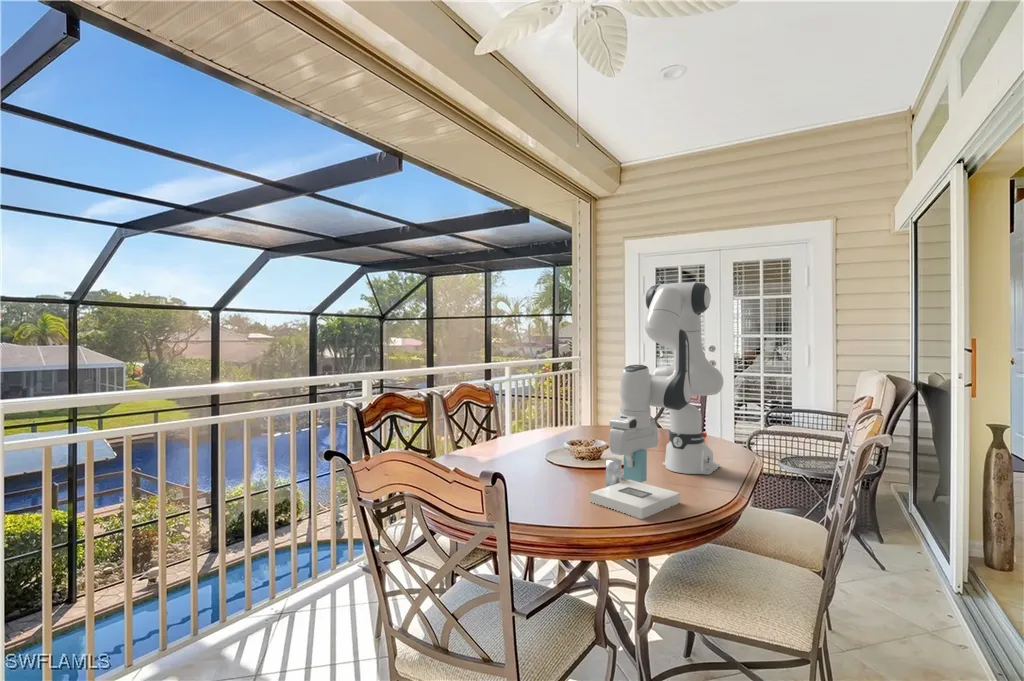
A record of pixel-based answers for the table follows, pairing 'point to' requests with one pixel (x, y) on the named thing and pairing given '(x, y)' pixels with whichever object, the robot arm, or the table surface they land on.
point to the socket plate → (635, 498)
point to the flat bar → (637, 467)
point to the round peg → (613, 471)
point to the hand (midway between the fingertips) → (634, 465)
